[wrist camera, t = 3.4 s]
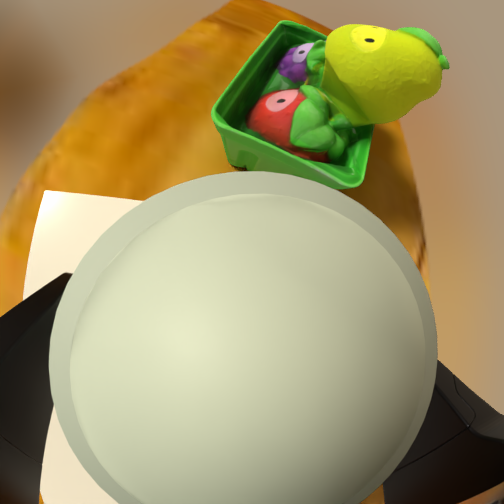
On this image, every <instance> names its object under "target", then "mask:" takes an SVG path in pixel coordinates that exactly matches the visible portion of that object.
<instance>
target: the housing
mask: <svg viewBox="0 0 504 504" xmlns="http://www.w3.org/2000/svg"><path fill="white" fill-rule="evenodd" d="M142 202H144V201H138V200H130V199H122V198H113V197H104V196H95V195H86V194H77V193H67V192H56V191H45V193H44V196H43V200H42V203H41V207H40V210H39V214H38V218H37V222H36V226H35V230H34V234H33V239H32V244H31V249H30V254H29V259H28V265H27V272H26V278H25V286H24V294H23V300H25V299H26V298H27V297H29V296H30V295H32V294H33V293H34V292H36V291H37V290H39V289H40V288H42V287H43V286H45V285H46V284H48V283H49V282H51V281H52V280H54V279H55V278H57V277H58V276H60V275H61V274H63V273H65V272H68V273H74V271H75V270H76V268H77V266H78V265H79V263H80V261H81V260H82V258H83V257H84V255H85V254H86V253H87V252H88V251H89V249H90V248H91V247H92V246H93V244H94V243H95V242H96V241H97V240H98V239H99V237H100V236H101V235H102V234H103V233H104V232H105V231H106V230H107V229H108V228H110V227H111V226H112V225H113V224H114V223H115V222H116V221H117V220H119V219H120V218H121V217H122V216H123V215H124V214H126V213H127V212H129V211H130V210H132V209H133V208H135V207H136V206H138V205H139V204H141V203H142ZM40 492H41V495H42V498H43V501H44V504H119V503H117V502H116V501H115V500H114V499H113V498H112V497H110V496H109V495H108V494H107V493H106V492H105V491H104V490H103V489H102V488H101V487H99V485H98V484H97V483H96V482H95V481H94V480H93V479H92V477H91V476H90V475H89V474H88V473H87V471H86V470H85V469H84V468H83V466H82V465H81V463H80V462H79V460H78V459H77V457H76V456H75V454H74V452H73V451H72V449H71V447H70V446H69V444H68V442H67V439H66V437H65V435H64V433H63V430H62V428H61V426H60V423H59V421H58V417H57V414H56V410H55V406H54V407H53V411H52V416H51V420H50V425H49V430H48V435H47V440H46V445H45V451H44V458H43V464H42V473H41V482H40Z"/></svg>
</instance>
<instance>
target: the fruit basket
mask: <svg viewBox="0 0 504 504" xmlns="http://www.w3.org/2000/svg"><path fill="white" fill-rule="evenodd" d="M443 69H449V63H448V61H447V59H446V57H445V56H443V55H442V50H441V47H440V45H439V43H438V41H437V40H436V39H435V38H434V37H432V36H431V35H430V34H429V33H428V32H426V31H425V30H423V29H419V28H413V27H412V28H411V27H407V28H400V29H398V30H396V31H393V30H389V29H385V28H381V27H377V26H371V25H359V24H351V25H345V26H342V27H339V28H337V29H336V30H334V31H332V32H331V34H330V35H329V36H328V37H327V36H325V35H323V34H321V33H319V32H317V31H315V30H313V29H311V28H309V27H307V26H303V25H301V24H298V23H295V22H292V21H280V22H279V23H278V24H277V25H276V26H275V28H274V29H273V30H272V31H271V32H270V33H269V35H268V36H267V37H266V39H265V40H264V41H263V42H262V43H261V44H260V46H259V47H258V48H257V49H256V50H255V52H254V53H253V54H252V55H251V56H250V58H249V59H248V60H247V62H246V63H245V64H244V66H243V67H242V68H241V70H240V71H239V72H238V74H237V75H236V76H235V78H234V79H233V80H232V82H231V83H230V84H229V86H228V87H227V88H226V90H225V91H224V92H223V94H222V95H221V96H220V98H219V99H218V100H217V102H216V103H215V105H214V106H213V108H212V111H211V117H212V119H213V122H214V124H215V126H216V129H217V130H218V132H219V133H220V134H221V138H222V141H223V145H224V148H225V152H226V155H227V159H228V162H229V163H230V164H231V165H234V166H236V167H246V169H247V170H248V171H265V172H273V173H281V174H288V175H293V176H297V177H301V178H304V179H308V180H312V181H315V182H318V183H320V184H323V185H325V186H327V187H330V188H332V189H348V188H355V187H358V186H360V185H361V183H362V182H363V180H364V176H365V171H366V166H367V162H368V156H369V151H370V145H371V140H372V135H373V130H374V124H383V123H389V122H392V121H395V120H397V119H399V118H401V117H403V116H404V115H406V114H407V113H408V112H409V111H410V110H411V109H412V108H413V107H414V106H415V105H416V104H418V103H419V102H421V101H424V100H426V99H429V98H430V97H432V96H434V95H435V94H436V93H437V92H438V90H439V89H440V86H441V80H442V70H443Z"/></svg>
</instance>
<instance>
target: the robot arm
mask: <svg viewBox="0 0 504 504" xmlns="http://www.w3.org/2000/svg"><path fill="white" fill-rule="evenodd" d="M72 275H73V273H68V272H65V273H63V274H61V275H60V276H58V277H57V278H55V279H54V280H52V281H51V282H49V283H48V284H46V285H45V286H43V287H42V288H40V289H39V290H37V291H36V292H34V293H33V294H32V295H30V296H29V297H27V298H26V299H25V300H23V301H22V302H20V303H19V304H18V305H16V306H15V307H13V308H12V309H11V310H9V311H8V312H7V313H5V314H4V315H3V316H1V317H0V504H39V493H40V482H41V473H42V464H43V458H44V451H45V445H46V440H47V435H48V430H49V425H50V420H51V416H52V411H53V407H54V402H53V398H52V394H51V386H50V375H49V352H50V338H51V333H52V329H53V324H54V320H55V316H56V311H57V308H58V306H59V303H60V301H61V298H62V296H63V293H64V291H65V288H66V286H67V283H68V282H69V280H70V278H71V276H72ZM383 490H384V499H385V504H504V415H502V414H500V413H498V412H497V411H496V410H495V409H494V408H492V407H491V406H490V405H489V404H488V403H486V402H485V401H484V400H483V399H481V398H480V397H479V396H478V395H476V394H475V393H474V392H473V391H472V390H471V389H469V388H468V387H467V386H466V385H465V384H464V383H463V382H462V381H461V380H459V379H458V378H457V377H456V376H455V375H454V374H453V373H452V372H451V371H450V370H449V369H448V368H447V367H445V366H444V365H443V364H442V363H441V362H440V361H439V360H437V369H436V378H435V383H434V388H433V393H432V397H431V401H430V404H429V407H428V410H427V413H426V416H425V419H424V421H423V423H422V426H421V428H420V430H419V432H418V434H417V436H416V438H415V440H414V442H413V443H412V445H411V447H410V448H409V450H408V452H407V453H406V455H405V456H404V458H403V459H402V460H401V462H400V463H399V464H398V466H397V467H396V468H395V470H394V471H393V472H392V473H391V474H390V476H389V477H388V478H387V479H386V480H385V481H384V482H383Z"/></svg>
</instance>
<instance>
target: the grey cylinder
mask: <svg viewBox="0 0 504 504" xmlns="http://www.w3.org/2000/svg"><path fill="white" fill-rule="evenodd" d="M437 355H438V353H437V331H436V324H435V318H434V312H433V309H432V305H431V301H430V298H429V294H428V291H427V289H426V286H425V284H424V281H423V279H422V277H421V274H420V272H419V270H418V269H417V267H416V265H415V263H414V261H413V260H412V258H411V256H410V254H409V253H408V252H407V250H406V249H405V247H404V246H403V245H402V243H401V242H400V241H399V239H398V238H397V237H396V236H395V234H394V233H393V232H392V231H391V230H390V229H389V228H388V227H387V226H386V225H385V224H384V223H383V222H382V221H381V220H380V219H379V218H378V217H376V216H375V215H374V214H373V213H371V212H370V211H369V210H368V209H366V208H365V207H364V206H362V205H361V204H360V203H358V202H356V201H355V200H353V199H351V198H350V197H348V196H346V195H344V194H343V193H341V192H339V191H337V190H335V189H332V188H330V187H327V186H325V185H323V184H320V183H318V182H315V181H312V180H308V179H304V178H301V177H297V176H293V175H288V174H281V173H273V172H265V171H244V172H229V173H223V174H216V175H210V176H205V177H201V178H198V179H194V180H191V181H188V182H185V183H181V184H178V185H176V186H174V187H171V188H169V189H167V190H165V191H163V192H161V193H158V194H156V195H154V196H152V197H150V198H149V199H147V200H145V201H144V202H142V203H141V204H139V205H138V206H136V207H135V208H133V209H132V210H130V211H129V212H127V213H126V214H124V215H123V216H122V217H121V218H120V219H119V220H117V221H116V222H115V223H114V224H113V225H112V226H111V227H110V228H108V229H107V230H106V231H105V232H104V233H103V234H102V235H101V236H100V237H99V239H98V240H97V241H96V242H95V243H94V244H93V246H92V247H91V248H90V249H89V251H88V252H87V253H86V254H85V255H84V257H83V258H82V260H81V261H80V263H79V265H78V266H77V268H76V270H75V271H74V273H73V275H72V276H71V278H70V280H69V282H68V283H67V286H66V288H65V291H64V293H63V296H62V298H61V301H60V303H59V306H58V308H57V311H56V316H55V320H54V324H53V329H52V333H51V338H50V352H49V375H50V386H51V394H52V398H53V402H54V406H55V410H56V414H57V417H58V421H59V423H60V426H61V428H62V430H63V433H64V435H65V437H66V439H67V442H68V444H69V446H70V447H71V449H72V451H73V452H74V454H75V456H76V457H77V459H78V460H79V462H80V463H81V465H82V466H83V468H84V469H85V470H86V471H87V473H88V474H89V475H90V476H91V477H92V479H93V480H94V481H95V482H96V483H97V484H98V485H99V487H101V488H102V489H103V490H104V491H105V492H106V493H107V494H108V495H109V496H110V497H112V498H113V499H114V500H115V501H116V502H117V503H119V504H359V503H361V502H362V501H363V500H364V499H365V498H367V497H368V496H369V495H370V494H371V493H373V492H374V491H375V490H376V489H377V488H378V487H379V486H380V485H381V484H382V483H383V482H384V481H385V480H386V479H387V478H388V477H389V476H390V474H391V473H392V472H393V471H394V470H395V468H396V467H397V466H398V464H399V463H400V462H401V460H402V459H403V458H404V456H405V455H406V453H407V452H408V450H409V448H410V447H411V445H412V443H413V442H414V440H415V438H416V436H417V434H418V432H419V430H420V428H421V426H422V423H423V421H424V419H425V416H426V413H427V410H428V407H429V404H430V401H431V397H432V393H433V388H434V383H435V378H436V369H437Z"/></svg>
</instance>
